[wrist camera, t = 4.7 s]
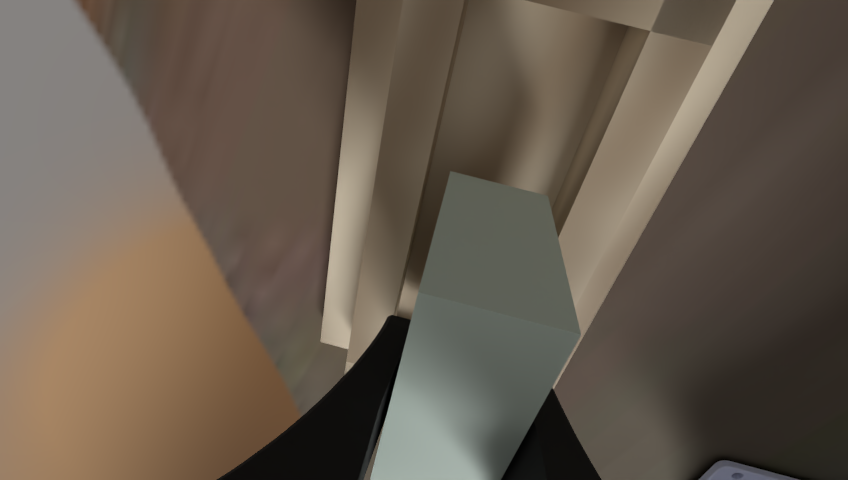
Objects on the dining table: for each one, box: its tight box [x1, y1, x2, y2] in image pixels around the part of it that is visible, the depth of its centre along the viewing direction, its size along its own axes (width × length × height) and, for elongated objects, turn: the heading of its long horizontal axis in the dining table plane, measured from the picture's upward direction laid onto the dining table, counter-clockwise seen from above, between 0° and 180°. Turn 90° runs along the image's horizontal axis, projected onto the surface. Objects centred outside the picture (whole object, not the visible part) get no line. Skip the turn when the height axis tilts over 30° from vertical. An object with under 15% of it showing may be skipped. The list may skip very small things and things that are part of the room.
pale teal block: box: [370, 171, 581, 480], centre depth 12 cm, size 3×8×6 cm, turn 168°
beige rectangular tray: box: [321, 0, 774, 389], centre depth 15 cm, size 11×17×3 cm, turn 168°
